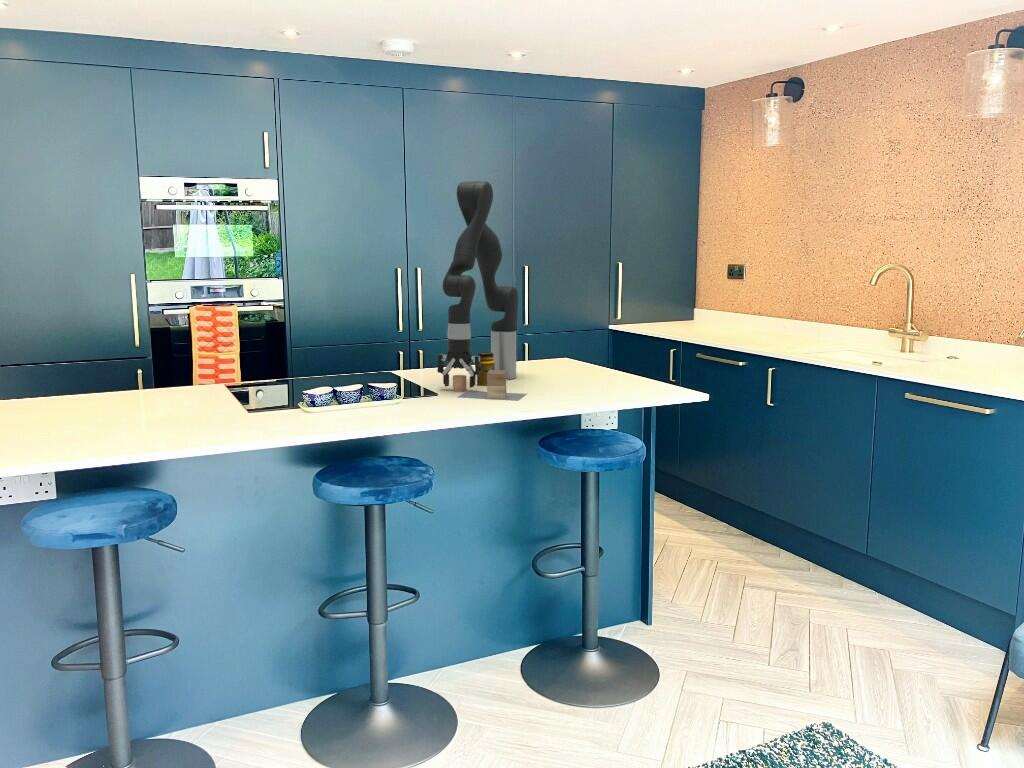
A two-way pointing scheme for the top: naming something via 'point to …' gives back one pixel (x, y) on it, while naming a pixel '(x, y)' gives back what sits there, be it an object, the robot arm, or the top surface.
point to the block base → (496, 392)
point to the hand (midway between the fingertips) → (459, 386)
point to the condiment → (485, 367)
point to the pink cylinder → (459, 383)
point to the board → (484, 396)
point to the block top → (496, 378)
